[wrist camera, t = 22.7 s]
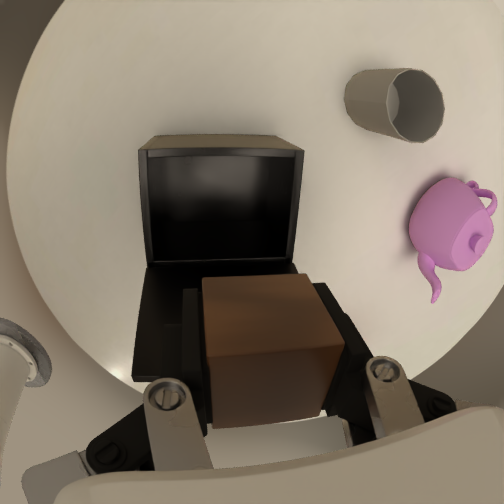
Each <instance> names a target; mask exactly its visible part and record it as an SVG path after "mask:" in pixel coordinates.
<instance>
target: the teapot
mask: <svg viewBox="0 0 504 504" xmlns="http://www.w3.org/2000/svg"><path fill="white" fill-rule="evenodd" d="M479 197H487V198H490V199H492V202H491V204H490V205H489V206H488V207H487V208H485V207H484V205H483V203H482V202H481V200H480V199H479ZM496 208H497V198H496V196H495V194H494V193H493V192H492V191H490V190H487V189H479V186H478V184H477V183H476V182H475V181H469V182H468V183H466V184H465V183H463V182H462V181H460V180H458V179H456V178H445V179H443V180H440V181H439V182H437V183H436V184H434V185H433V186H432V187H431V188H430V189H428V190H427V191H426V193H425V194H424V195H423V196H422V197H421V199H420V200H419V202H418V204H417V205H416V207H415V209H414V211H413V213H412V216H411V218H410V222H409V235H410V239H411V241H412V243H413V245H414V247H415V248H416V250H417V251H418V252H419V253H418V266H419V269H420V271H421V272H422V274H423V275H424V276H425V278H426V279H427V280H428V281H429V283H430V284H431V286H432V291H433V293H432V299H431V303H432V304H433V303H434V302H435V301H436V300H437V298H438V297H439V295H440V292H441V282H440V280H439V278H438V277H437V276H436V274H435V272H434V268H435V265H436V266H439V267H441V268H444V269H448V270H455V271H465V270H467V269H469V268H470V267H472V266H473V265H474V264H475V263H476V262H477V261H478V260H479V258H480V257H481V256H482V255H483V253H484V252H485V250H486V248H487V247H488V245H489V243H490V241H491V238H492V236H493V231H494V228H493V223H492V220H491V218H490V216H491V215H492V214H493V213H494V212H495V210H496Z"/></svg>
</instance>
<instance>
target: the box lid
mask: <svg viewBox="0 0 504 504" xmlns="http://www.w3.org/2000/svg"><path fill="white" fill-rule="evenodd" d="M282 274H298V271H297V269H296V267H295V264H294V263H278V264H251V265H223V266H192V267H158V268H146V273H145V278H144V284H143V290H142V296H141V303H140V309H139V316H138V323H137V331H136V338H135V347H134V355H133V365H132V375H131V376H132V379H133V381H134V382H153V381H155V380H157V379H160V366H161V352H162V339H163V328H164V324H182V311H183V289H196V288H198V292H202V278H204V277H232V276H258V275H282Z"/></svg>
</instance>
